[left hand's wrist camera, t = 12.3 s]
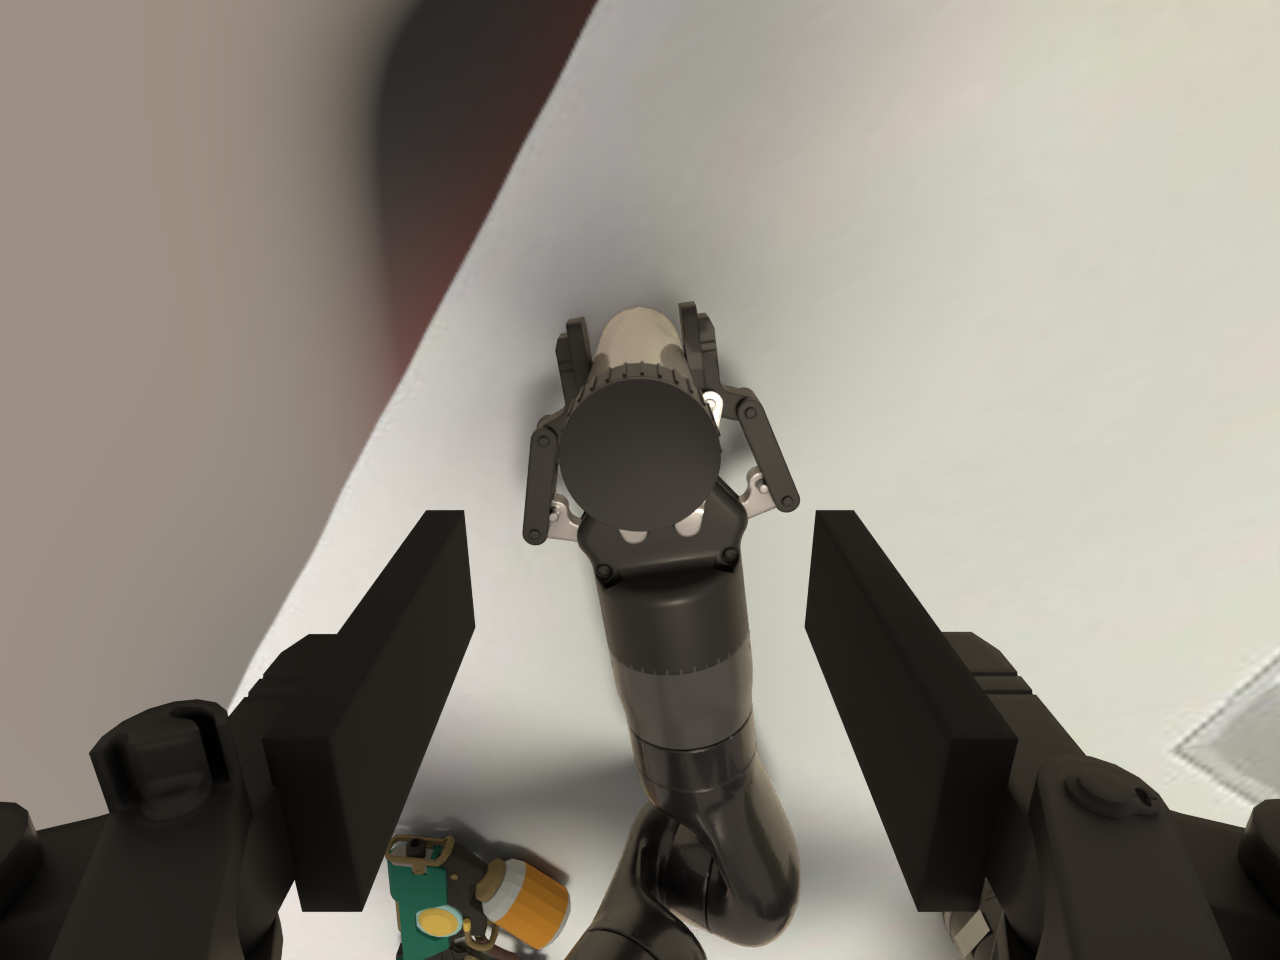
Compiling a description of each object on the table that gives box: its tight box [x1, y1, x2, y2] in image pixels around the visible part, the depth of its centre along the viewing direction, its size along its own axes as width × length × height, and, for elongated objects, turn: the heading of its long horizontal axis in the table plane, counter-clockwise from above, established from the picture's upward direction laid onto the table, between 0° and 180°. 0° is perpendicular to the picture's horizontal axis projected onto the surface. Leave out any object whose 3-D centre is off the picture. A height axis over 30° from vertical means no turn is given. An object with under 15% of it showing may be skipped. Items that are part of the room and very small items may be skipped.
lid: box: [558, 361, 722, 532], centre depth 22 cm, size 5×5×2 cm
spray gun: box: [385, 835, 571, 960], centre depth 52 cm, size 4×17×15 cm
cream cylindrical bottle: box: [586, 307, 694, 385], centre depth 30 cm, size 4×4×18 cm
